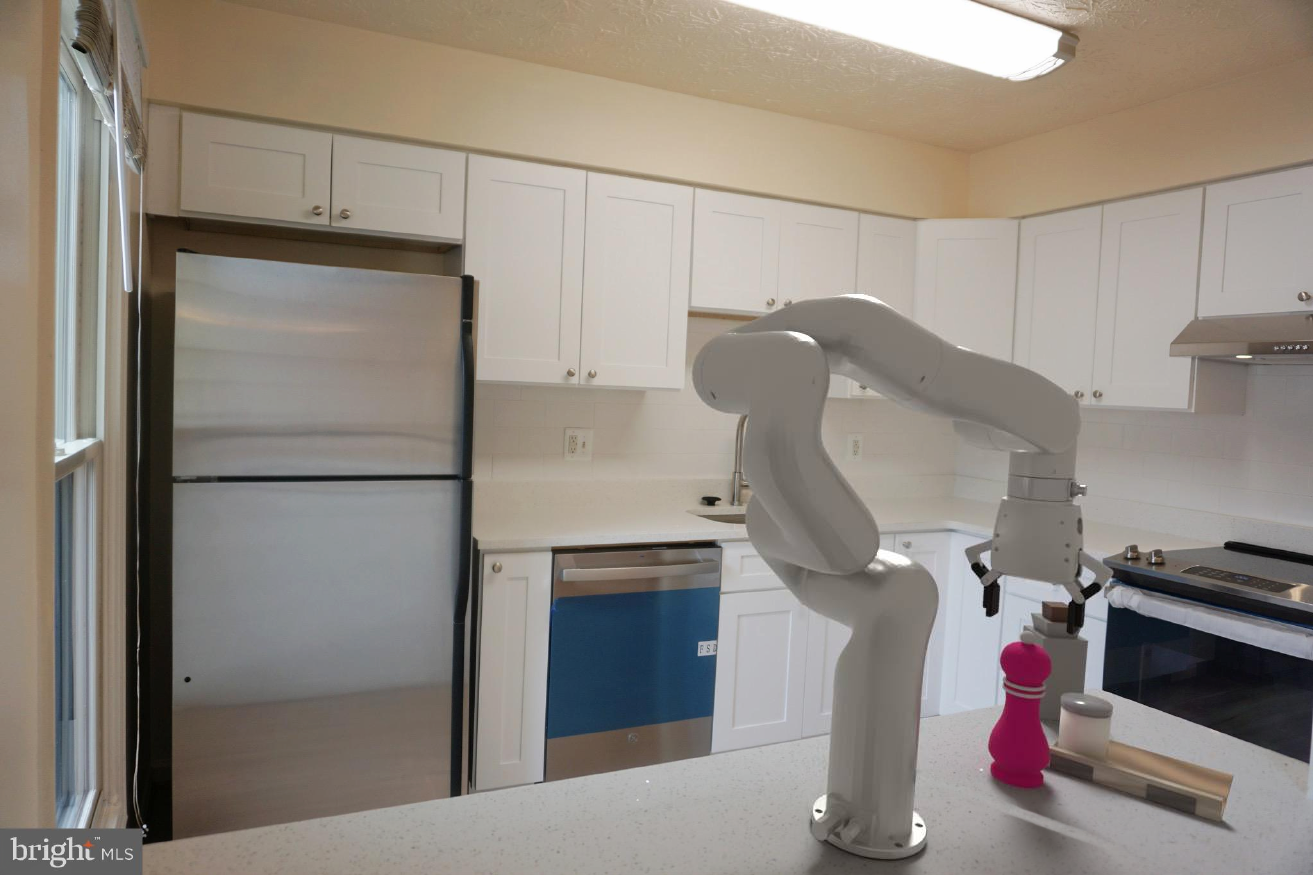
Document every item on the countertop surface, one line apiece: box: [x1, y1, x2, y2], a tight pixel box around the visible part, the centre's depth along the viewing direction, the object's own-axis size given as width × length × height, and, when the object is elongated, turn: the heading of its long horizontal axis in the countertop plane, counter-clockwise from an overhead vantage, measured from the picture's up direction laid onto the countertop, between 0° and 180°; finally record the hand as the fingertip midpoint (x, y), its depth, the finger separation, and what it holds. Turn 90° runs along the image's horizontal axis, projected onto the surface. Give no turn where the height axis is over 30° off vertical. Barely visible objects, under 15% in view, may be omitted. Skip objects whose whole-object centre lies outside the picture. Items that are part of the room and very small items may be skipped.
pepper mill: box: [987, 630, 1052, 789], centre depth 102 cm, size 7×7×20 cm
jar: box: [1057, 693, 1114, 762], centre depth 108 cm, size 6×6×8 cm
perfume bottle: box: [1022, 600, 1089, 721], centre depth 124 cm, size 7×7×18 cm
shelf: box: [1046, 739, 1234, 823], centre depth 105 cm, size 16×20×4 cm
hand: (1031, 623), depth 101 cm, fingers open, 9 cm apart
